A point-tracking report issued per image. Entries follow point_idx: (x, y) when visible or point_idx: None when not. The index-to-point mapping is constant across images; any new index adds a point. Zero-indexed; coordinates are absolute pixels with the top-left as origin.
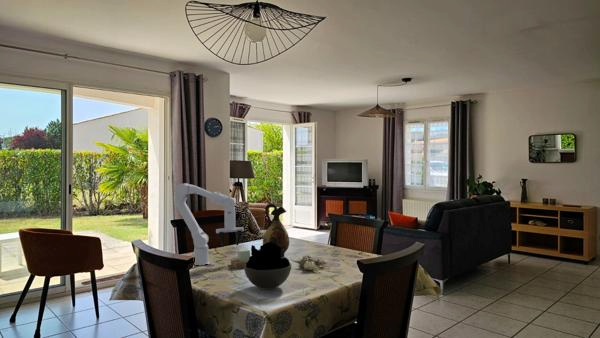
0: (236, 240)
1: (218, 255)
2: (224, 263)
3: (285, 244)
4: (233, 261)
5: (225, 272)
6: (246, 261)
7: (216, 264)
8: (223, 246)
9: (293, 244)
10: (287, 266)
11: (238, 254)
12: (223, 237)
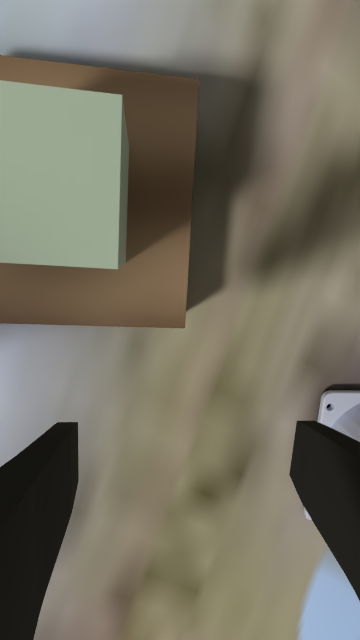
0: (54, 527)
1: (165, 636)
2: (213, 375)
3: None
4: (190, 222)
5: (322, 50)
6: None
7: (280, 373)
8: (309, 422)
9: None
10: None
11: (122, 236)
12: None
